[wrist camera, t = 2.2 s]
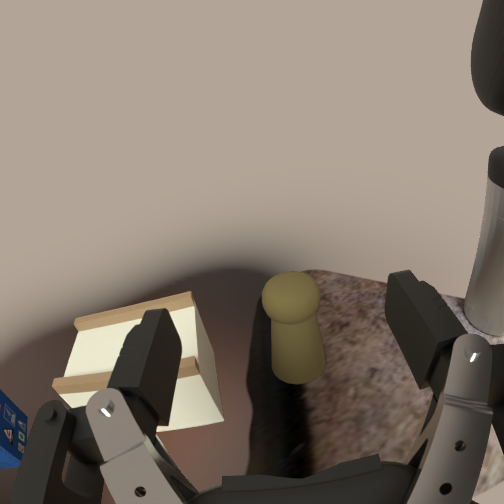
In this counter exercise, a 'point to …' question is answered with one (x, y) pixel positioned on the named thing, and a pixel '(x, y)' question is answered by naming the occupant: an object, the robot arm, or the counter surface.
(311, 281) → the olive green pawn
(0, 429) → the pasta box
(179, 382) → the display stand
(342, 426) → the counter surface
